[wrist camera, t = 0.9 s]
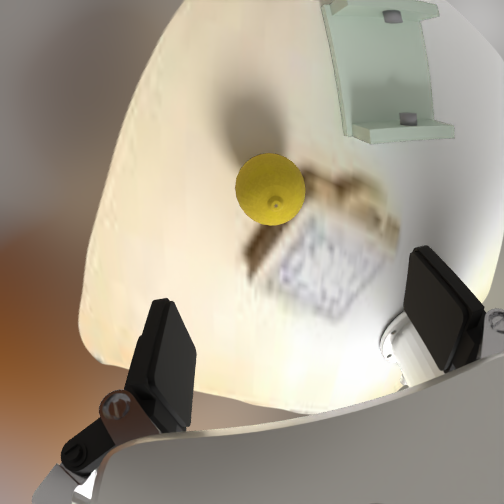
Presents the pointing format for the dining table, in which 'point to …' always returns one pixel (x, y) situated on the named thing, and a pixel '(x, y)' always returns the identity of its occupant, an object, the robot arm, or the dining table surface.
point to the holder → (383, 69)
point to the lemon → (270, 189)
